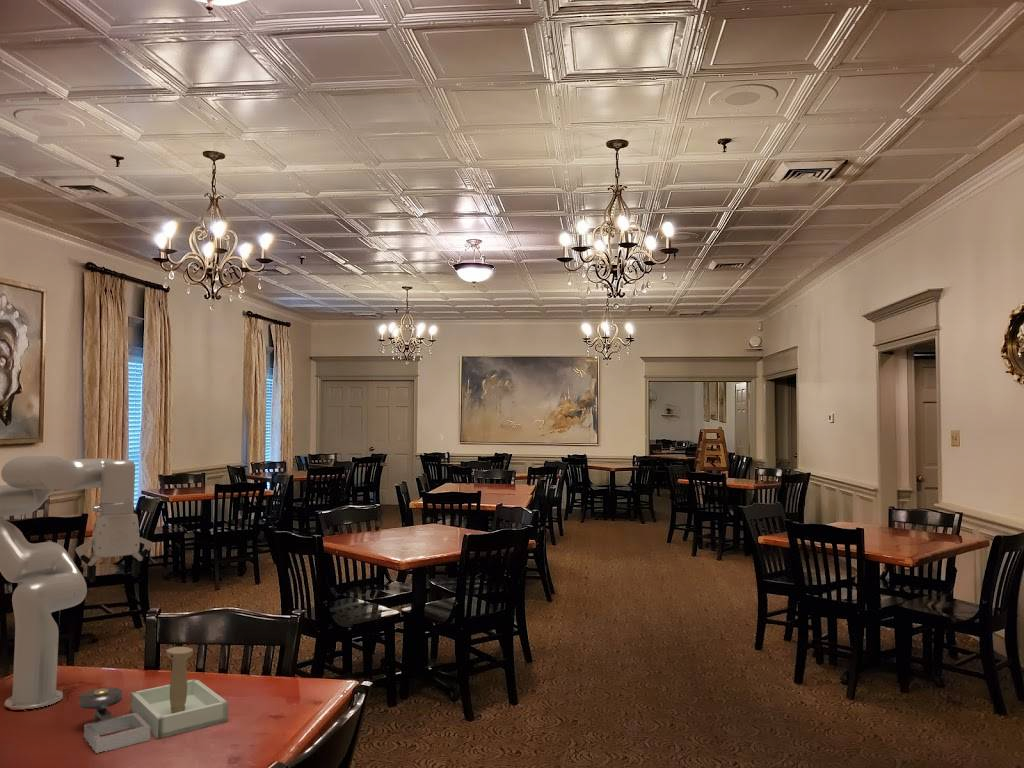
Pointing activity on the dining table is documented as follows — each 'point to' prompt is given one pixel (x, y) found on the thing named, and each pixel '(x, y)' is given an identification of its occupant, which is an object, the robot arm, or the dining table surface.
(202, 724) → the tray
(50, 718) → the dining table surface
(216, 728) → the dining table surface
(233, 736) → the dining table surface
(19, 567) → the robot arm
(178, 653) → the handle
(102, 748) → the bracket
